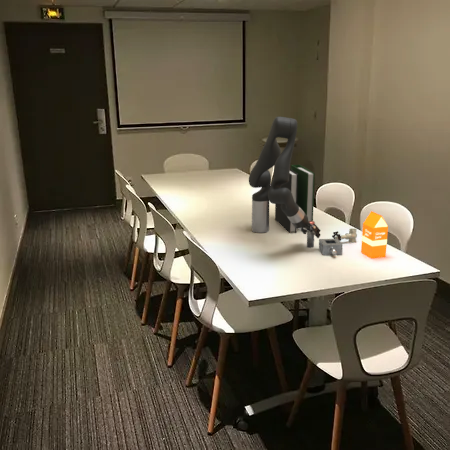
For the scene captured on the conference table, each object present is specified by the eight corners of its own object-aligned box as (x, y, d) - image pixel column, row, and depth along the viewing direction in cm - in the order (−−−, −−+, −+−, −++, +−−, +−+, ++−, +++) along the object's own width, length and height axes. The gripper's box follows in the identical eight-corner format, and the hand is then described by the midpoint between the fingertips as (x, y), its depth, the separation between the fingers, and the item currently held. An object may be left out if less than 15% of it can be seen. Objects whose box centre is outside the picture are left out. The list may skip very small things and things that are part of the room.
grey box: (324, 258, 223) (325, 247, 221) (318, 248, 235) (319, 239, 234) (344, 257, 223) (344, 247, 221) (337, 248, 235) (337, 238, 234)
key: (307, 247, 237) (308, 223, 233) (306, 245, 240) (307, 221, 237) (314, 247, 237) (315, 222, 233) (313, 245, 240) (313, 220, 237)
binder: (313, 231, 261) (316, 173, 252) (287, 233, 259) (288, 174, 250) (298, 218, 287) (299, 164, 278) (273, 219, 285) (274, 165, 276)
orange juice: (371, 258, 221) (374, 216, 216) (360, 252, 229) (363, 211, 224) (386, 256, 223) (389, 215, 218) (375, 250, 232) (378, 210, 226)
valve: (351, 239, 249) (331, 242, 245) (352, 227, 247) (332, 229, 243) (359, 243, 243) (339, 246, 239) (360, 230, 241) (339, 233, 237)
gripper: (312, 212, 223) (327, 231, 233) (289, 206, 234) (305, 225, 244) (304, 225, 221) (319, 244, 231) (281, 219, 232) (297, 237, 242)
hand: (312, 234), depth 238 cm, fingers open, 8 cm apart
